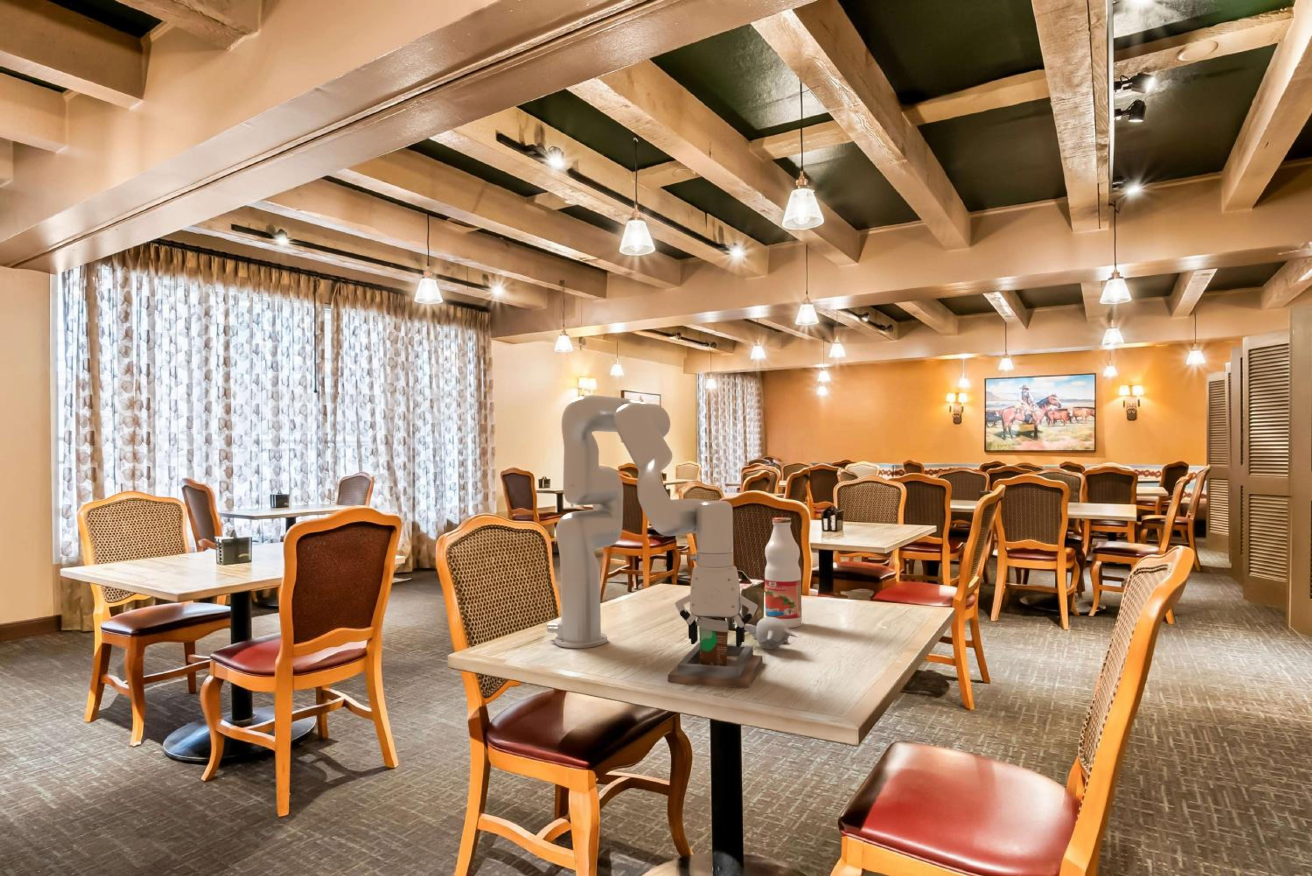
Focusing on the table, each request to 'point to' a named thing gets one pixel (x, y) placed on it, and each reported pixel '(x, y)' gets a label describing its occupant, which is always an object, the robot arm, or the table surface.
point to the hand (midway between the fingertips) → (716, 644)
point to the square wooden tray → (718, 668)
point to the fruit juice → (783, 575)
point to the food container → (713, 640)
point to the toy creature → (770, 632)
